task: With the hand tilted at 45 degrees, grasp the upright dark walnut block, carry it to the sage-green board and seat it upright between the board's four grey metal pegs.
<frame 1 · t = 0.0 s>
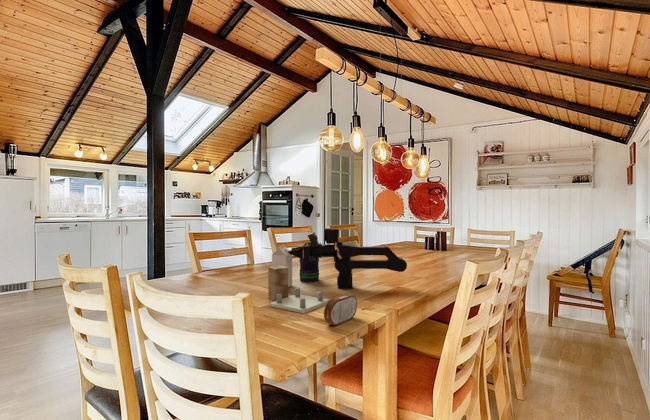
hand: (289, 250, 165), 17 cm above the table, tool horizontal, fingers open, 9 cm apart
milk carton: (282, 287, 165), on the table
peg stand: (300, 304, 136), on the table
tin: (341, 322, 116), on the table
walnut block: (278, 298, 145), on the table
dark ribbed canister: (309, 280, 179), on the table
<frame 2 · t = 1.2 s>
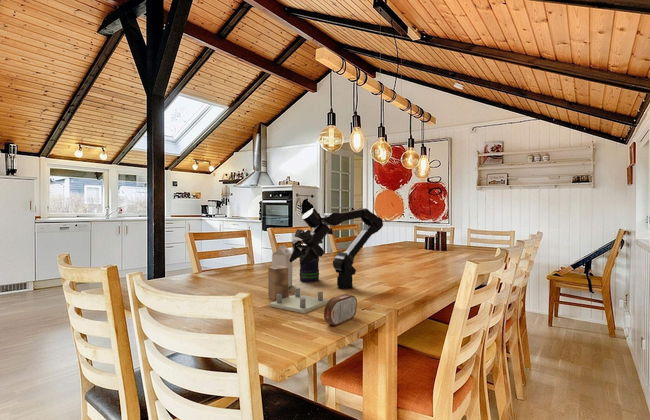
hand: (295, 263, 149), 13 cm above the table, tool tilted 45°, fingers open, 9 cm apart
nothing on the table moved.
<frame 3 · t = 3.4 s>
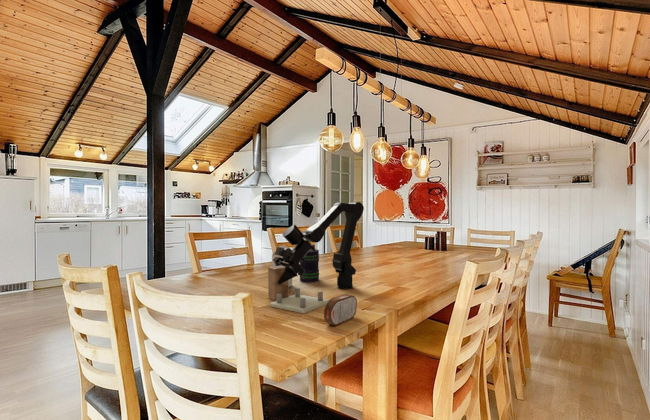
hand: (275, 282, 145), 7 cm above the table, tool tilted 45°, fingers closed on walnut block, 6 cm apart
walnut block: (278, 298, 145), on the table, touching gripper
everything else where it was.
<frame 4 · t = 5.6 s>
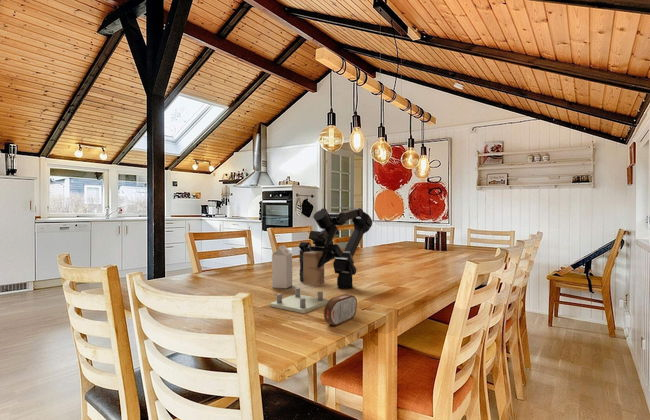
hand: (311, 266, 142), 13 cm above the table, tool tilted 45°, fingers closed on walnut block, 6 cm apart
walnut block: (313, 283, 144), point 6 cm above the table, touching gripper
everything else where it was.
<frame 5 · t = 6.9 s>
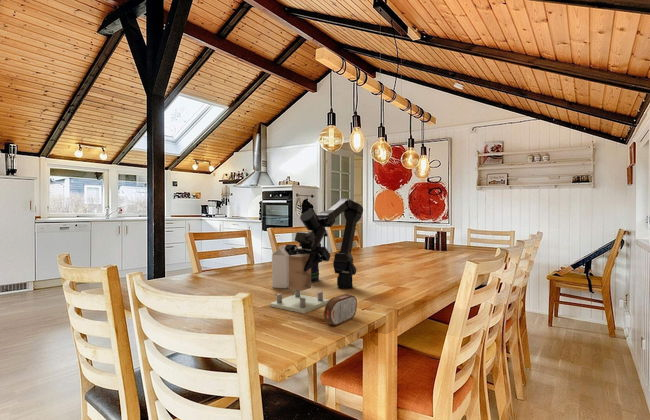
hand: (297, 270, 134), 13 cm above the table, tool tilted 45°, fingers closed on walnut block, 6 cm apart
walnut block: (300, 288, 136), point 6 cm above the table, touching gripper
everything else where it was.
when the fingers open (9 cm above the table, at t = 8.1 s): walnut block stays where it is, resting on peg stand.
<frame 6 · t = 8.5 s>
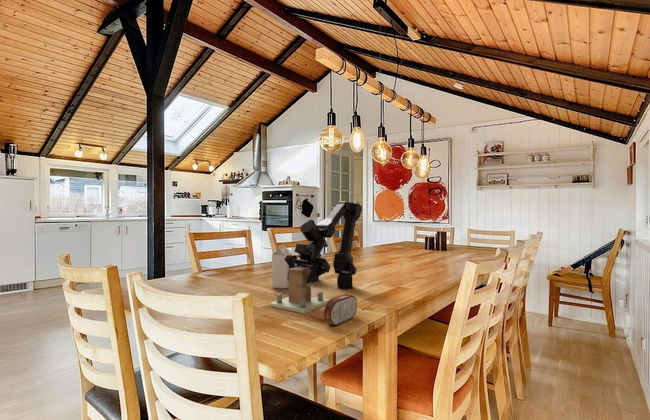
hand: (297, 281, 134), 9 cm above the table, tool tilted 45°, fingers open, 9 cm apart
walnut block: (299, 301, 136), point 1 cm above the table, touching peg stand
everything else where it was.
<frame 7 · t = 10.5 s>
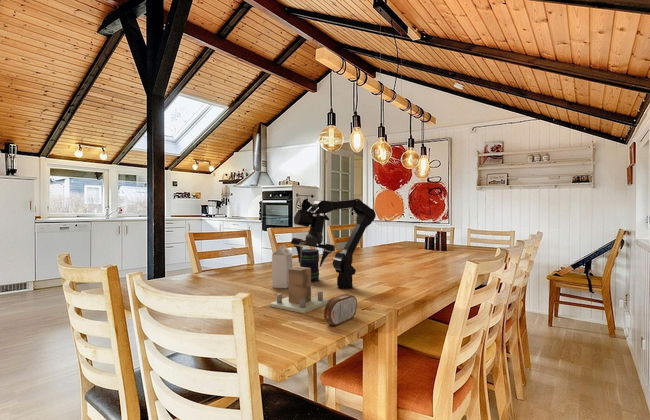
hand: (309, 264, 154), 12 cm above the table, tool pointing down, fingers open, 9 cm apart
nothing on the table moved.
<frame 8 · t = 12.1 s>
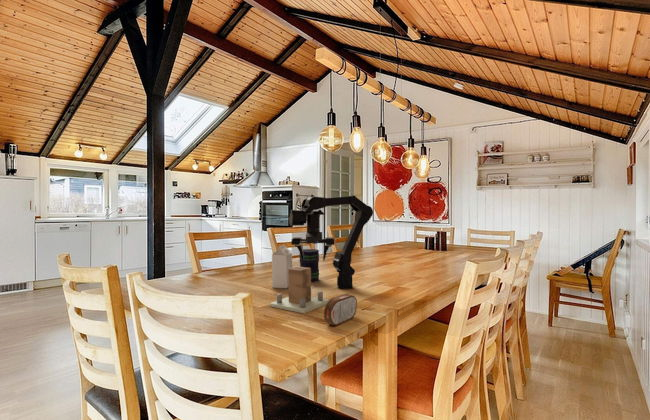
hand: (313, 260, 158), 13 cm above the table, tool pointing down, fingers open, 9 cm apart
nothing on the table moved.
at the end: walnut block 0.1 cm off-centre on the peg stand, point 1.2 cm above the peg stand's base; walnut block tilted 0°; the gripper is holding nothing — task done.
